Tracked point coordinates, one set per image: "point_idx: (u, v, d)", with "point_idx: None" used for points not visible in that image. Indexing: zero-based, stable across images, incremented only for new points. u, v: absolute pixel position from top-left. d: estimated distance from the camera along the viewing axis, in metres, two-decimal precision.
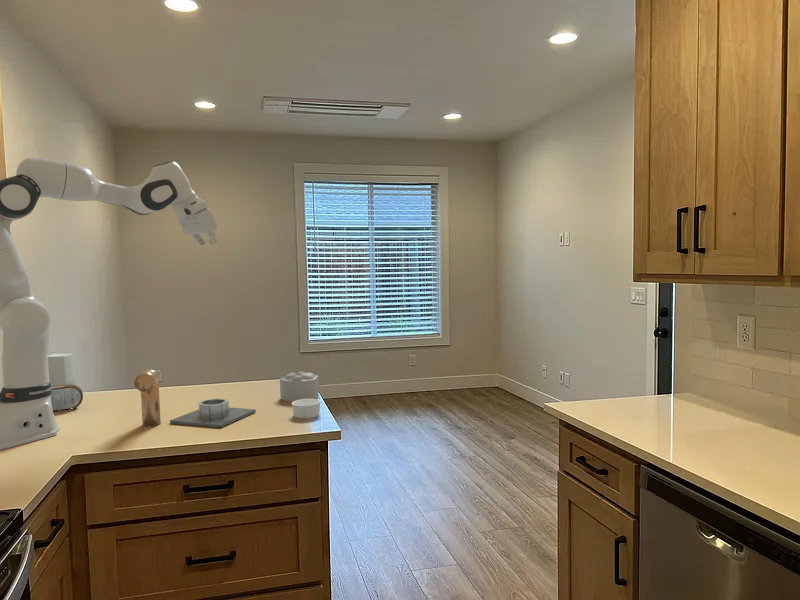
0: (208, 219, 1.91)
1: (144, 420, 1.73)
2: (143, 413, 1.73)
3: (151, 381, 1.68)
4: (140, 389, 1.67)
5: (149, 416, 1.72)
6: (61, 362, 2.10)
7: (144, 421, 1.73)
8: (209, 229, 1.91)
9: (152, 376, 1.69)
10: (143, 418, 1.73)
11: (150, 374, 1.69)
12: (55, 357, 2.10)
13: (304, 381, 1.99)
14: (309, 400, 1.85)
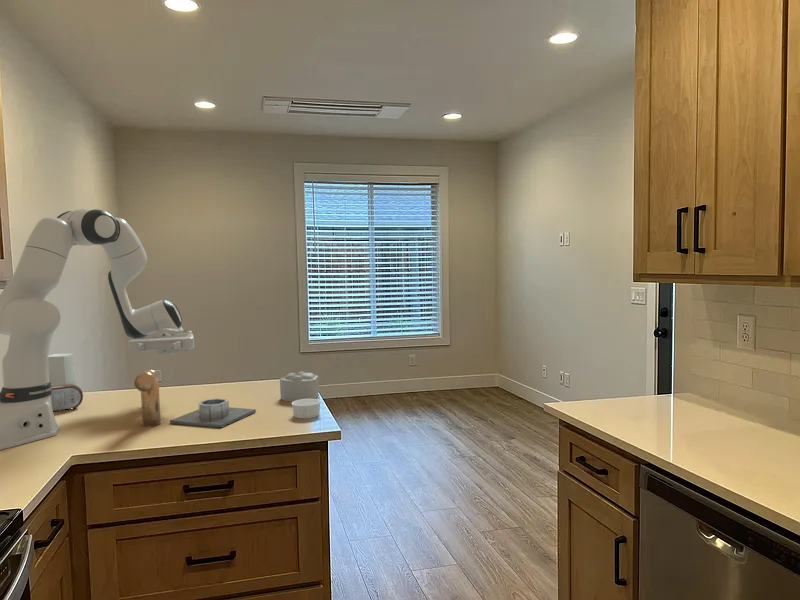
0: None
1: (144, 420, 1.73)
2: (143, 413, 1.73)
3: (151, 381, 1.68)
4: (140, 389, 1.67)
5: (149, 416, 1.72)
6: (61, 362, 2.10)
7: (144, 421, 1.73)
8: (193, 338, 1.93)
9: (152, 376, 1.69)
10: (143, 418, 1.73)
11: (150, 374, 1.69)
12: (55, 357, 2.10)
13: (304, 381, 1.99)
14: (309, 400, 1.85)
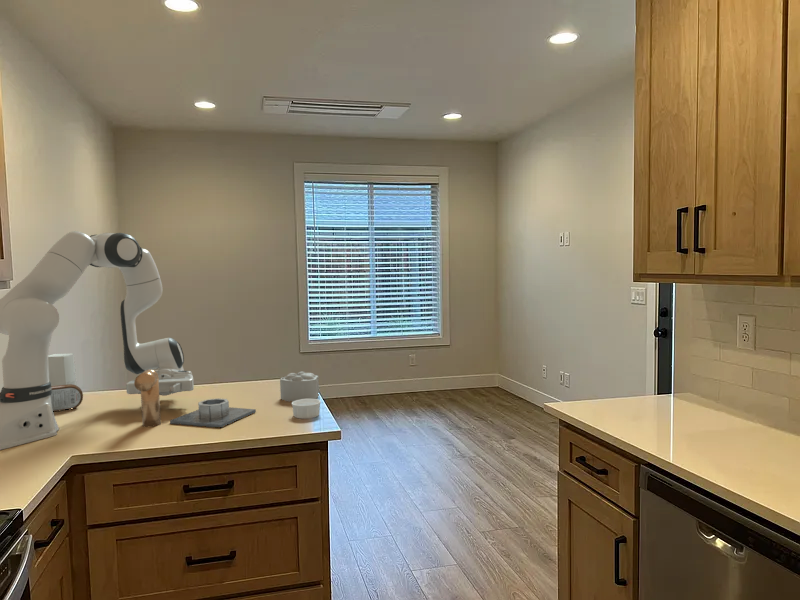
0: (193, 383, 1.93)
1: (144, 420, 1.73)
2: (143, 413, 1.73)
3: (151, 381, 1.68)
4: (140, 389, 1.67)
5: (149, 416, 1.72)
6: (61, 362, 2.10)
7: (144, 421, 1.73)
8: (192, 380, 1.90)
9: (152, 376, 1.69)
10: (143, 418, 1.73)
11: (150, 374, 1.69)
12: (55, 357, 2.10)
13: (304, 381, 1.99)
14: (309, 400, 1.85)
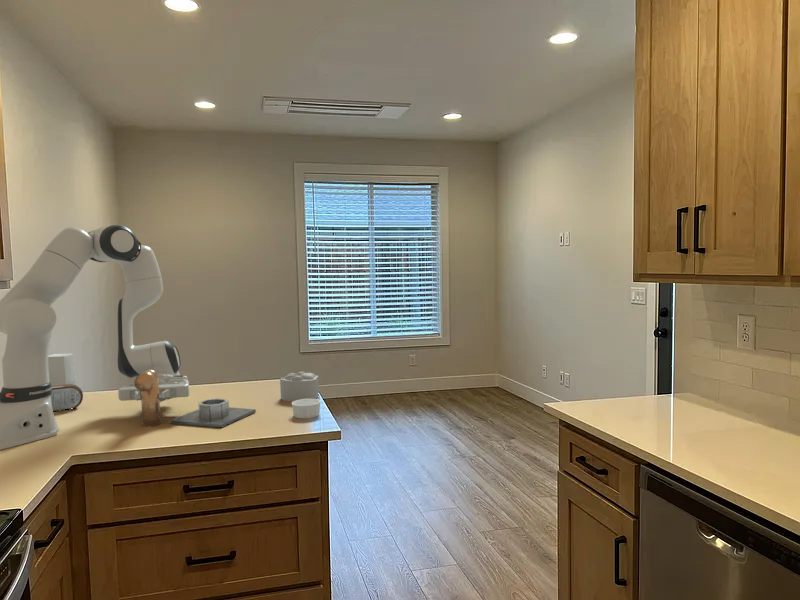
0: None
1: (144, 420, 1.73)
2: (143, 413, 1.73)
3: (151, 381, 1.68)
4: (140, 389, 1.67)
5: (149, 416, 1.72)
6: (61, 362, 2.10)
7: (144, 421, 1.73)
8: (188, 385, 1.81)
9: (152, 376, 1.69)
10: (143, 418, 1.73)
11: (150, 374, 1.69)
12: (55, 357, 2.10)
13: (304, 381, 1.99)
14: (309, 400, 1.85)
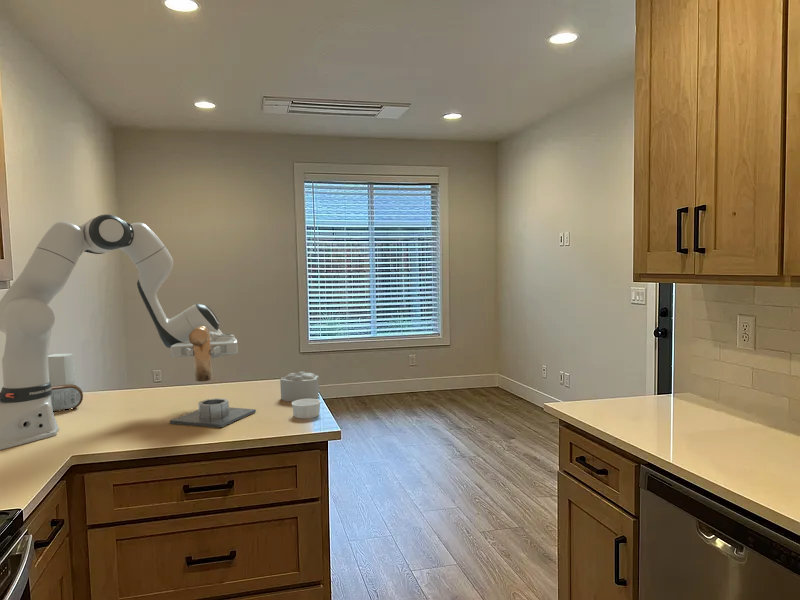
0: None
1: (197, 375, 1.77)
2: (196, 368, 1.77)
3: (205, 336, 1.72)
4: (194, 344, 1.72)
5: (202, 371, 1.77)
6: (61, 362, 2.10)
7: (197, 376, 1.77)
8: None
9: (205, 331, 1.73)
10: (196, 373, 1.77)
11: (203, 329, 1.73)
12: (55, 357, 2.10)
13: (305, 381, 1.99)
14: (309, 400, 1.85)
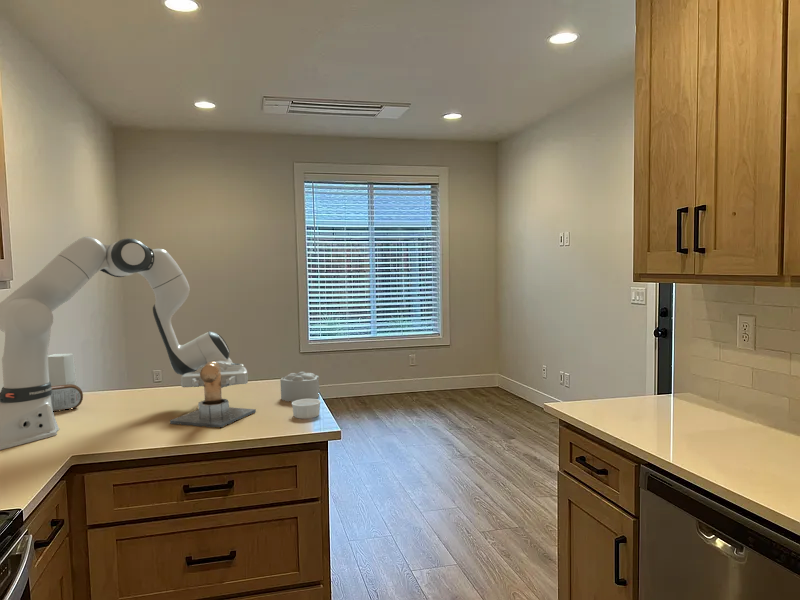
0: None
1: None
2: (206, 403, 1.79)
3: (216, 372, 1.73)
4: (205, 380, 1.73)
5: None
6: (61, 362, 2.10)
7: None
8: None
9: (216, 367, 1.75)
10: None
11: (214, 366, 1.75)
12: (55, 357, 2.10)
13: (305, 381, 1.99)
14: (309, 400, 1.85)
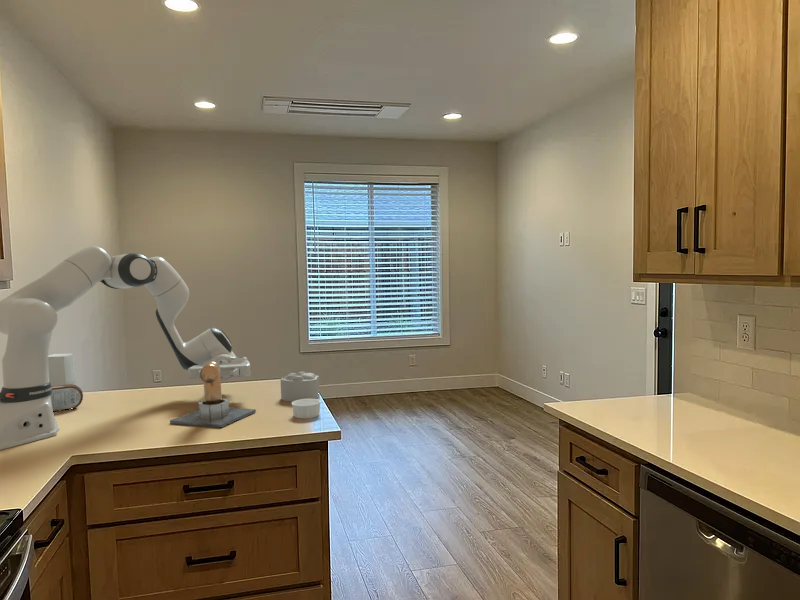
0: None
1: None
2: (206, 403, 1.79)
3: (216, 373, 1.73)
4: (205, 380, 1.73)
5: None
6: (61, 362, 2.10)
7: None
8: None
9: (215, 367, 1.75)
10: None
11: (214, 366, 1.75)
12: (55, 357, 2.10)
13: (305, 381, 1.99)
14: (309, 400, 1.85)
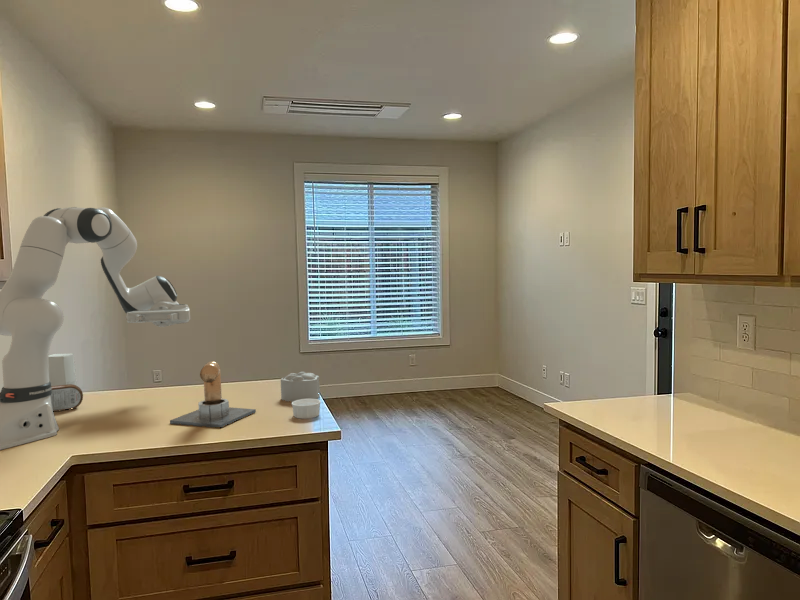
0: None
1: None
2: (206, 403, 1.79)
3: (216, 372, 1.73)
4: (205, 380, 1.73)
5: None
6: (61, 362, 2.10)
7: None
8: (189, 310, 2.01)
9: (216, 367, 1.75)
10: None
11: (214, 366, 1.75)
12: (55, 357, 2.10)
13: (305, 381, 1.99)
14: (309, 400, 1.85)
